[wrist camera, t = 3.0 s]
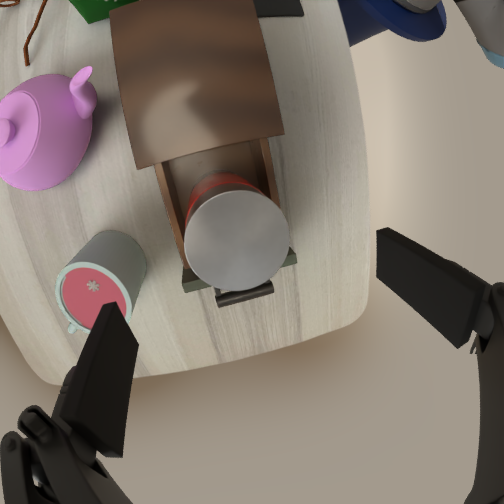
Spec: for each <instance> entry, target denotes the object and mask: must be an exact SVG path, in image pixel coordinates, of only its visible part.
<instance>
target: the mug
mask: <svg viewBox="0 0 504 504" xmlns="http://www.w3.org/2000/svg"><path fill="white" fill-rule="evenodd" d="M145 273H146V259H145V256H144V253H143V251H142V249H141V248H140V246H139V245H138V244H137V242H136V241H135V240H134V239H132V238H131V237H130V236H128V235H126V234H124V233H122V232H118V231H104V232H101V233H99V234H97V235H95V236H94V237H93V238H92V239H91V240H90V241H89V242H88V243H87V244H86V245H85V246H84V247H83V248H82V249H81V250H80V251H79V252H78V253H77V255H76V256H75V257H74V258H73V259H72V260H71V261H70V262H69V263H68V264H67V265H66V266H65V268H64V269H63V270H62V271H61V272H60V274H59V275H58V277H57V280H56V285H55V294H56V299H57V302H58V305H59V307H60V309H61V311H62V312H63V314H64V315H65V317H66V318H67V319H68V320H69V321H70V324H69V326H68V331H69V332H70V333H75V332H76V331H77V330H78V328H79V329H80V330H82V331H84V332H86V333H88V334H90V331H91V329H92V327H93V325H94V322H95V320H96V318H97V316H98V314H99V312H100V310H101V307H102V305H103V304H106V303H110V302H114V301H116V302H117V304H118V306H119V308H120V310H121V312H122V314H123V316H124V318H125V320H126V322H127V324H128V323H129V321H130V319H131V316H132V312H133V309H134V306H135V303H136V300H137V297H138V294H139V291H140V288H141V285H142V282H143V279H144V276H145Z"/></svg>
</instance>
